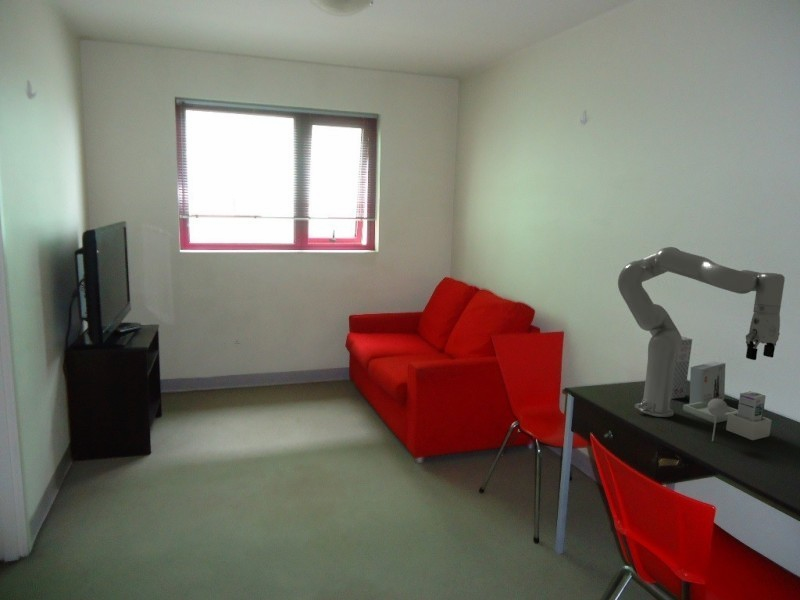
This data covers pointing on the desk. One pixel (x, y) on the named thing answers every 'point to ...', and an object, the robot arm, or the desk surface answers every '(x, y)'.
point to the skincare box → (707, 382)
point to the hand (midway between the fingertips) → (759, 357)
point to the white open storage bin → (748, 427)
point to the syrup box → (751, 406)
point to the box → (681, 368)
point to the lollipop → (717, 410)
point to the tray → (706, 411)
